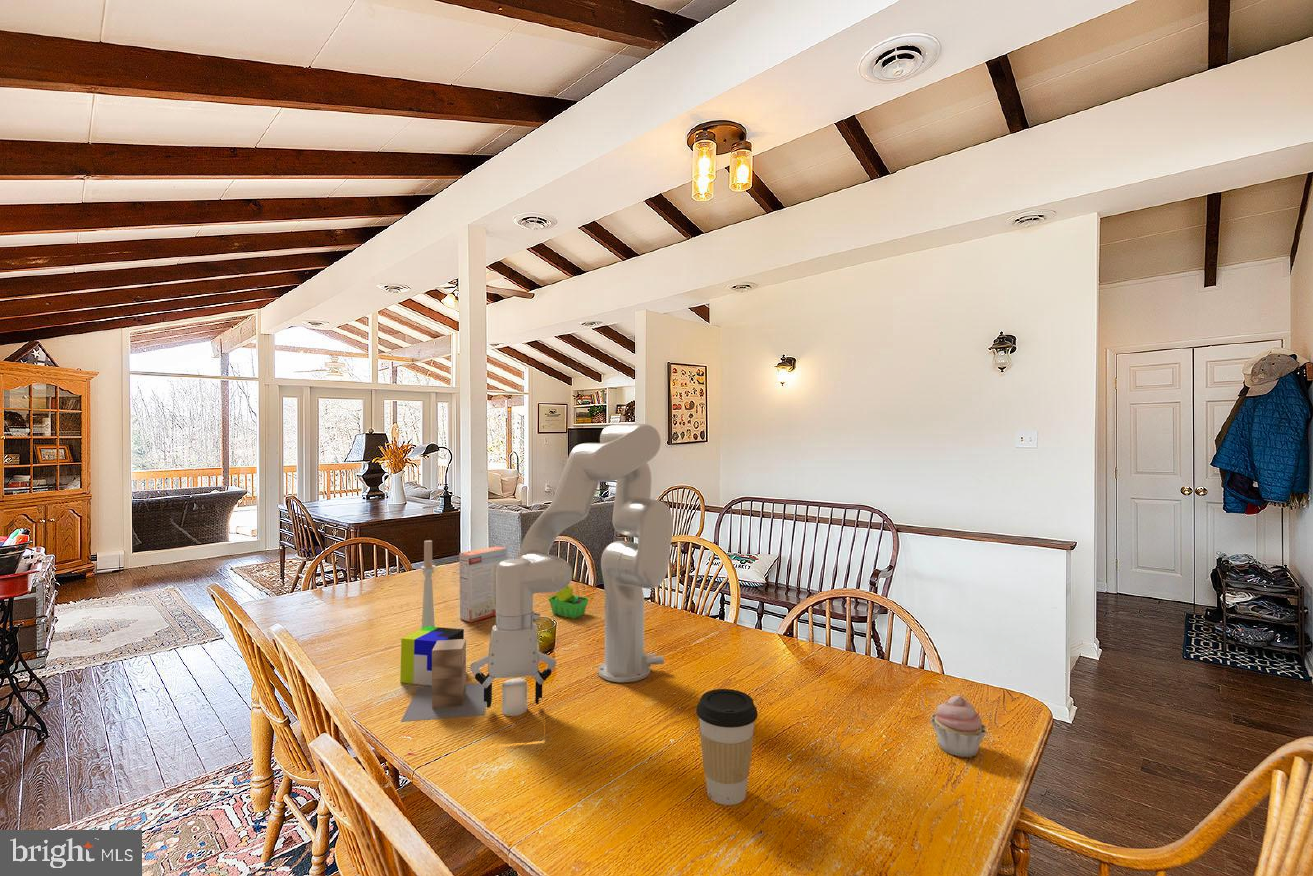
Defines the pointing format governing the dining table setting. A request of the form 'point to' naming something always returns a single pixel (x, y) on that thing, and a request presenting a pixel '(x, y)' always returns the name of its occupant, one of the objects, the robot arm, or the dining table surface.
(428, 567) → the candlestick
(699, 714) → the coffee cup
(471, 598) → the cracker box
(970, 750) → the cupcake
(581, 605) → the fruit basket
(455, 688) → the block
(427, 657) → the puzzle toy
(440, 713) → the mat
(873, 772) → the dining table surface
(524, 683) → the ceramic cylinder
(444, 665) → the tower top
